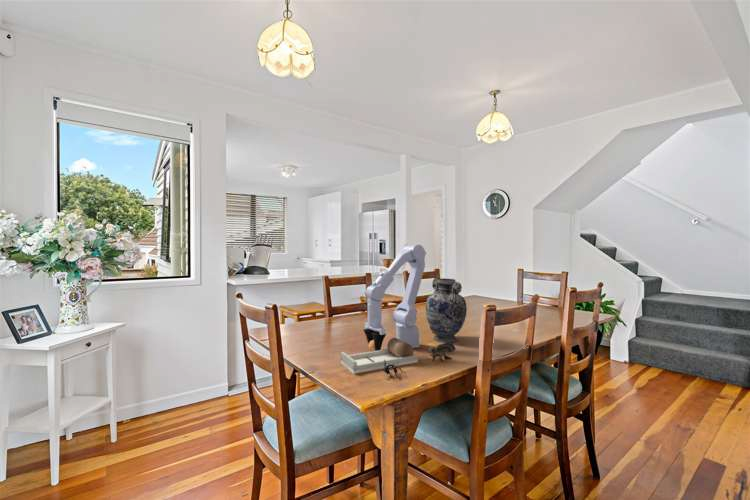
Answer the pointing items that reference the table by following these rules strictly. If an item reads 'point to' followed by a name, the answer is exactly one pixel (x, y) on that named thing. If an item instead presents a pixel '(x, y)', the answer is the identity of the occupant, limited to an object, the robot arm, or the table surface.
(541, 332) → the table surface
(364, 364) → the lane
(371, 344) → the ball
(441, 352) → the withered leafy plant
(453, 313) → the decorative vase
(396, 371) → the creature
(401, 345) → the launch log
